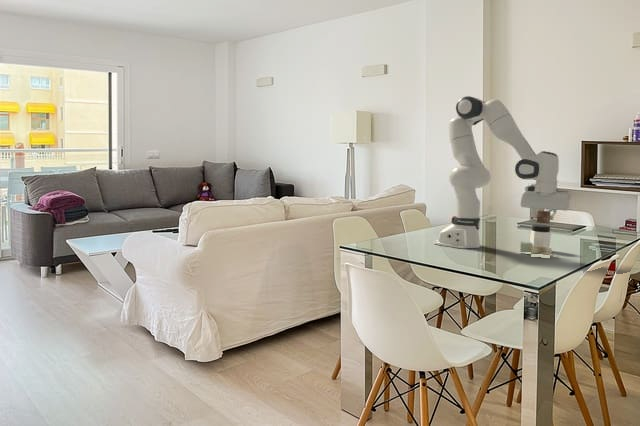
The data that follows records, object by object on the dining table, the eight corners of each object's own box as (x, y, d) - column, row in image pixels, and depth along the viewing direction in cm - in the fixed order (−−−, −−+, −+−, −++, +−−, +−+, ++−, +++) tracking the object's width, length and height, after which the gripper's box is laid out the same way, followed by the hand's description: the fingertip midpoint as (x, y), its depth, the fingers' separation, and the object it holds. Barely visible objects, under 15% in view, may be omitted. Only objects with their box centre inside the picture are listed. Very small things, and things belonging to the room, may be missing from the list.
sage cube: (520, 254, 255) (521, 243, 254) (518, 251, 259) (519, 241, 259) (531, 254, 254) (532, 244, 253) (530, 252, 258) (530, 242, 258)
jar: (527, 250, 264) (530, 225, 262) (530, 247, 271) (532, 223, 269) (547, 252, 259) (550, 227, 258) (550, 250, 266) (552, 225, 265)
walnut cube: (536, 222, 246) (537, 211, 246) (537, 221, 251) (538, 210, 250) (548, 223, 244) (549, 212, 243) (549, 222, 248) (550, 211, 248)
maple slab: (530, 257, 248) (531, 248, 248) (532, 254, 255) (532, 246, 255) (549, 259, 245) (550, 251, 244) (550, 256, 252) (551, 248, 251)
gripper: (572, 189, 244) (569, 220, 245) (523, 186, 253) (520, 216, 254) (571, 190, 238) (568, 221, 240) (521, 187, 247) (519, 217, 249)
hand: (543, 218), depth 247 cm, fingers closed on walnut cube, 5 cm apart
